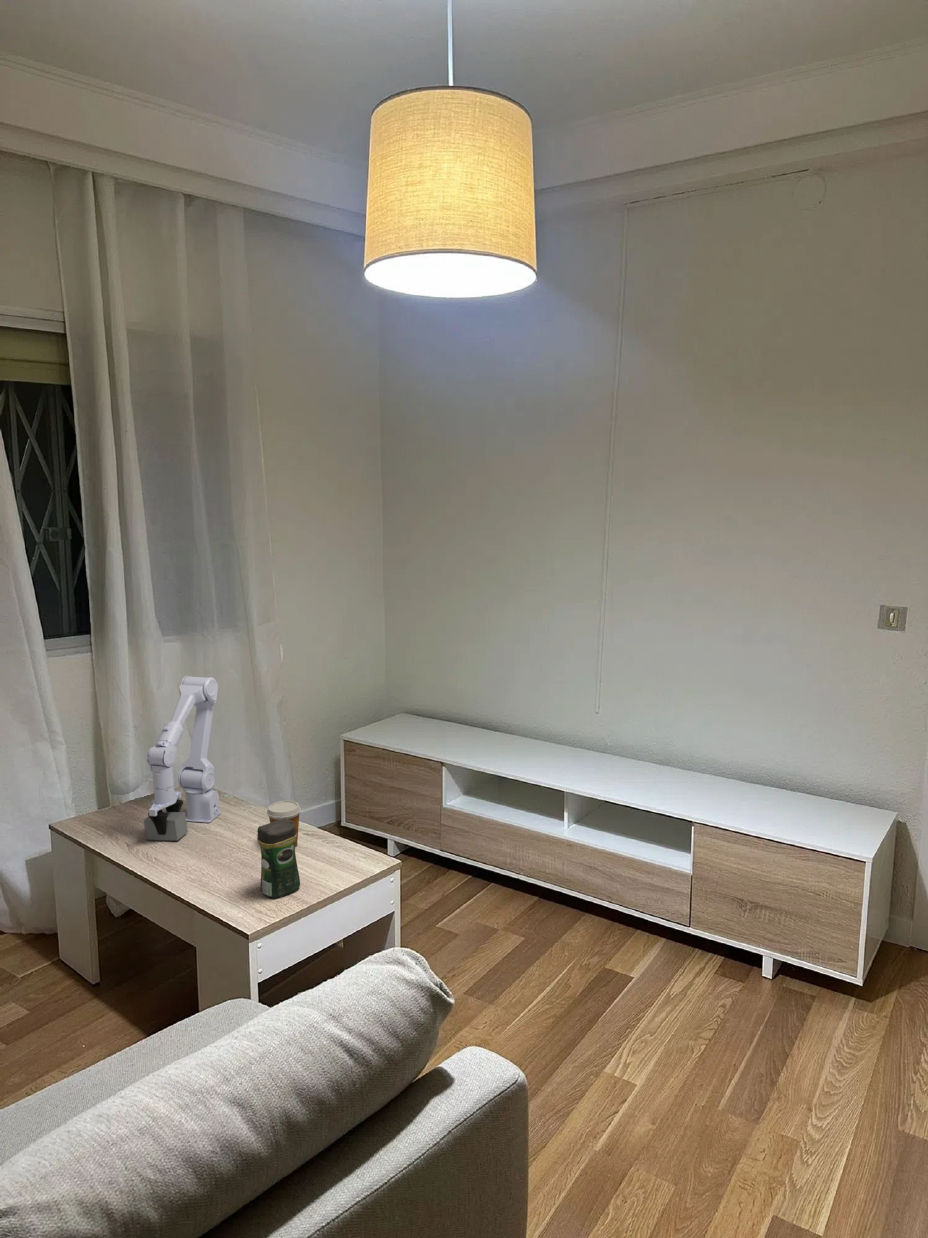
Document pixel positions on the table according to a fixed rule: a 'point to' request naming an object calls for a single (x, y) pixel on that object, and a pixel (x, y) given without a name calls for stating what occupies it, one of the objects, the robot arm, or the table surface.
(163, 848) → the table surface
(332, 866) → the table surface
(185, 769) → the robot arm
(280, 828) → the coffee jar
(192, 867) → the table surface
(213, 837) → the table surface
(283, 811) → the disposable coffee cup
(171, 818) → the grey rectangular box
